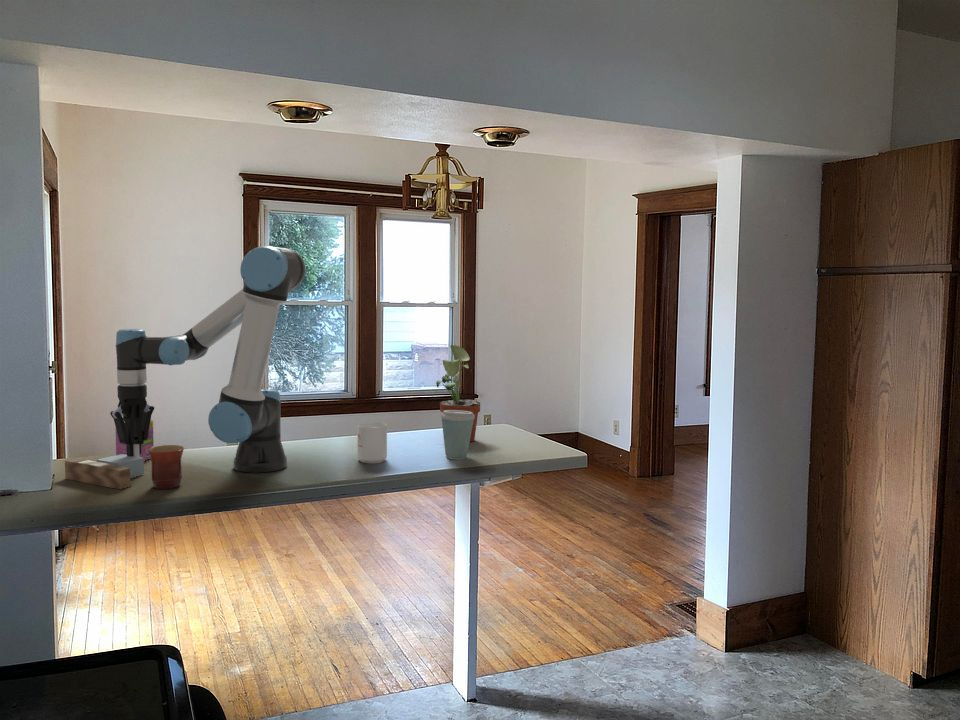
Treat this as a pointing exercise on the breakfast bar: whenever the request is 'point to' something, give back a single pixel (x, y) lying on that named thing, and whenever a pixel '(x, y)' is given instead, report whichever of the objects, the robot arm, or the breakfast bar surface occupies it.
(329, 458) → the breakfast bar surface
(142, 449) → the box
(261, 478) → the breakfast bar surface
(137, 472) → the block
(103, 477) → the board
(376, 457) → the mug
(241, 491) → the breakfast bar surface
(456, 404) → the potted plant
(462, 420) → the disposable coffee cup
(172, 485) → the mug
